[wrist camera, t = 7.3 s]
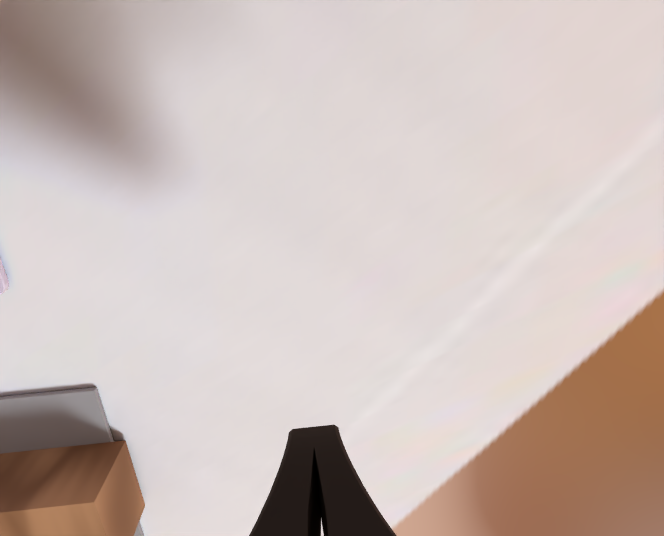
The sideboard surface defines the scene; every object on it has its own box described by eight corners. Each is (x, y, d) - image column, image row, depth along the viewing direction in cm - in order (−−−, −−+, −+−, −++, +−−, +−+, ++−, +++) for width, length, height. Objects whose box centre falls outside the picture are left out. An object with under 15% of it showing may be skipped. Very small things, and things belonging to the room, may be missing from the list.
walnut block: (145, 505, 26) (8, 520, 26) (125, 440, 24) (-22, 455, 24) (119, 572, 22) (-41, 591, 22) (94, 502, 20) (-82, 521, 20)
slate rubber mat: (-37, 563, 27) (-41, 568, 27) (-124, 408, 22) (-129, 412, 22) (145, 542, 27) (144, 547, 27) (96, 387, 23) (94, 390, 23)
